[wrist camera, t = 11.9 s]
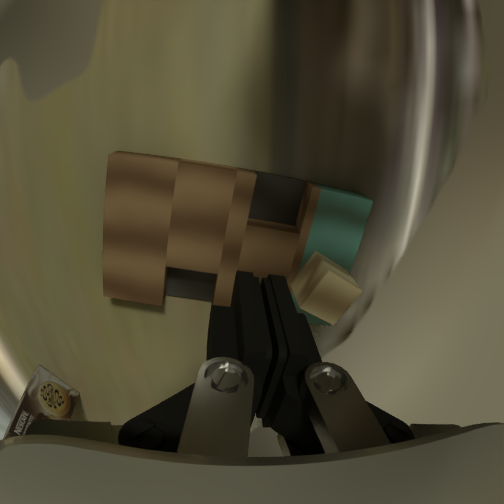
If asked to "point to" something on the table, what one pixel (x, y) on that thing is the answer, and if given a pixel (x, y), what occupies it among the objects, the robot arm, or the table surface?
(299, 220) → the trap board
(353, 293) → the birch block
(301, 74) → the table surface
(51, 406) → the coffee box
